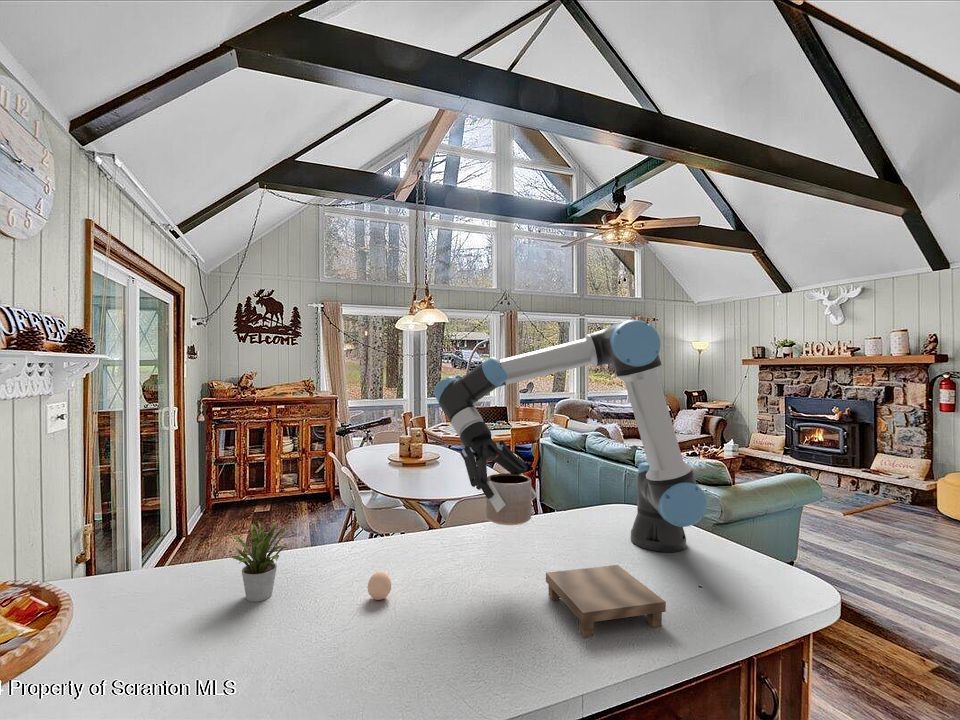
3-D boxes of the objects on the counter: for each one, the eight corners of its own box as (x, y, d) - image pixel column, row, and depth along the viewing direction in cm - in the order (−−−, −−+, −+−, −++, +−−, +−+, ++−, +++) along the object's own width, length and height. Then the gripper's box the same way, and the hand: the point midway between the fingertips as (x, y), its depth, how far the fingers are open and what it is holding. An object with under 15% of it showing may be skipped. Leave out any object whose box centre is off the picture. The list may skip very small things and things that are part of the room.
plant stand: (617, 586, 117) (617, 564, 117) (665, 626, 100) (665, 601, 100) (545, 594, 112) (545, 572, 112) (582, 639, 95) (583, 612, 95)
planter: (528, 528, 113) (529, 485, 113) (481, 524, 115) (481, 482, 115) (533, 513, 124) (533, 474, 124) (489, 510, 126) (490, 471, 126)
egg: (365, 595, 111) (365, 569, 111) (388, 591, 113) (388, 565, 113) (369, 606, 106) (370, 578, 106) (393, 602, 108) (393, 574, 108)
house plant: (313, 589, 113) (314, 517, 113) (263, 618, 101) (264, 537, 101) (267, 577, 119) (267, 508, 119) (214, 602, 107) (215, 526, 107)
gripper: (495, 433, 138) (539, 502, 128) (429, 443, 122) (474, 523, 111) (509, 416, 135) (556, 485, 124) (444, 424, 118) (492, 505, 107)
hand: (517, 503), depth 117 cm, fingers closed on planter, 11 cm apart
